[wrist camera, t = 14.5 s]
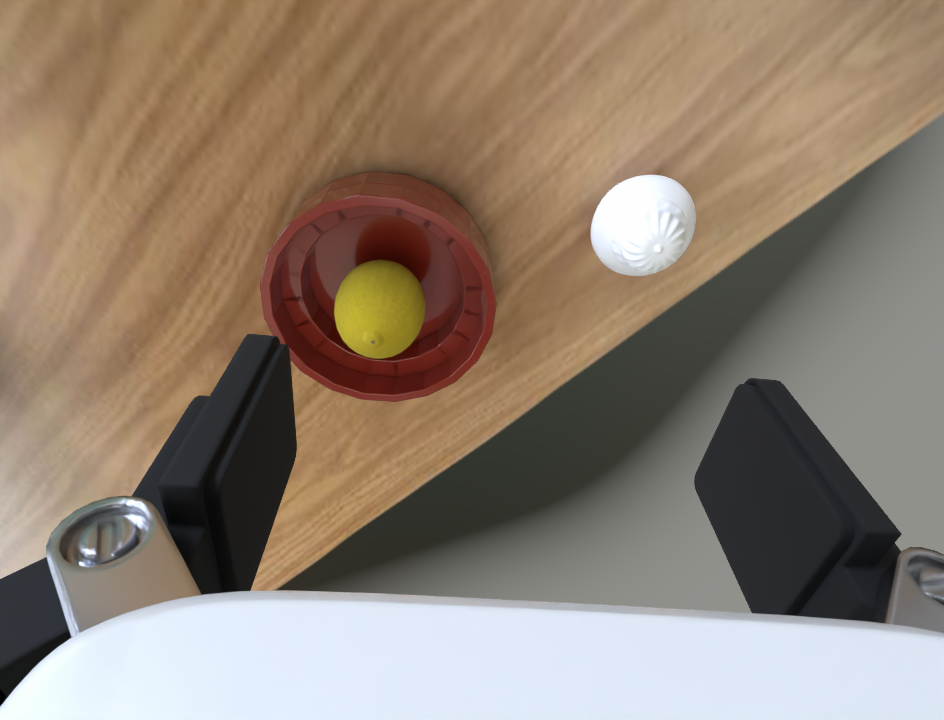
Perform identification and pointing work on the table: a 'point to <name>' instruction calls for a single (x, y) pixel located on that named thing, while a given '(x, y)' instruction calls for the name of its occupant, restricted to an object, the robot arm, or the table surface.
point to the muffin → (643, 225)
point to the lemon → (379, 309)
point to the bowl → (374, 238)
